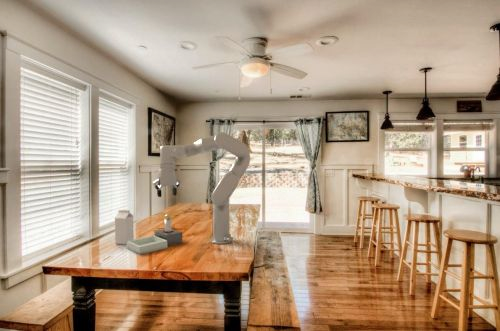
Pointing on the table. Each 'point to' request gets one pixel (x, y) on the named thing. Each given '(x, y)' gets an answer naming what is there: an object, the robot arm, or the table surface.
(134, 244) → the tray
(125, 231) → the milk carton
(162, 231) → the hitch block
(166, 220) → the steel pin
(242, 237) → the table surface
